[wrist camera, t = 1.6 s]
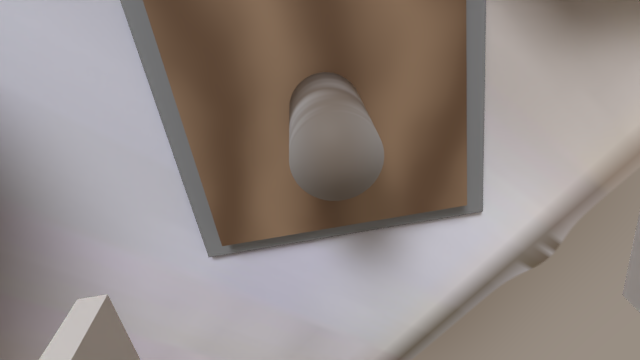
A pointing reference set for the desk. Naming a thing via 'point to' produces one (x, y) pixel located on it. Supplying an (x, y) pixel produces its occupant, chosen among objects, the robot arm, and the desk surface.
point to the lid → (318, 108)
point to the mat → (204, 219)
